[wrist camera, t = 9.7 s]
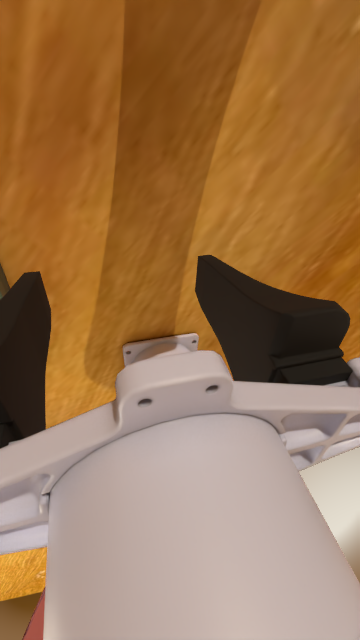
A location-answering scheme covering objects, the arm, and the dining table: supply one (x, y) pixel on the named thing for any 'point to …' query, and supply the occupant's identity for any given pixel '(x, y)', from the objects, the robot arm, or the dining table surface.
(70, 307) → the dining table surface
